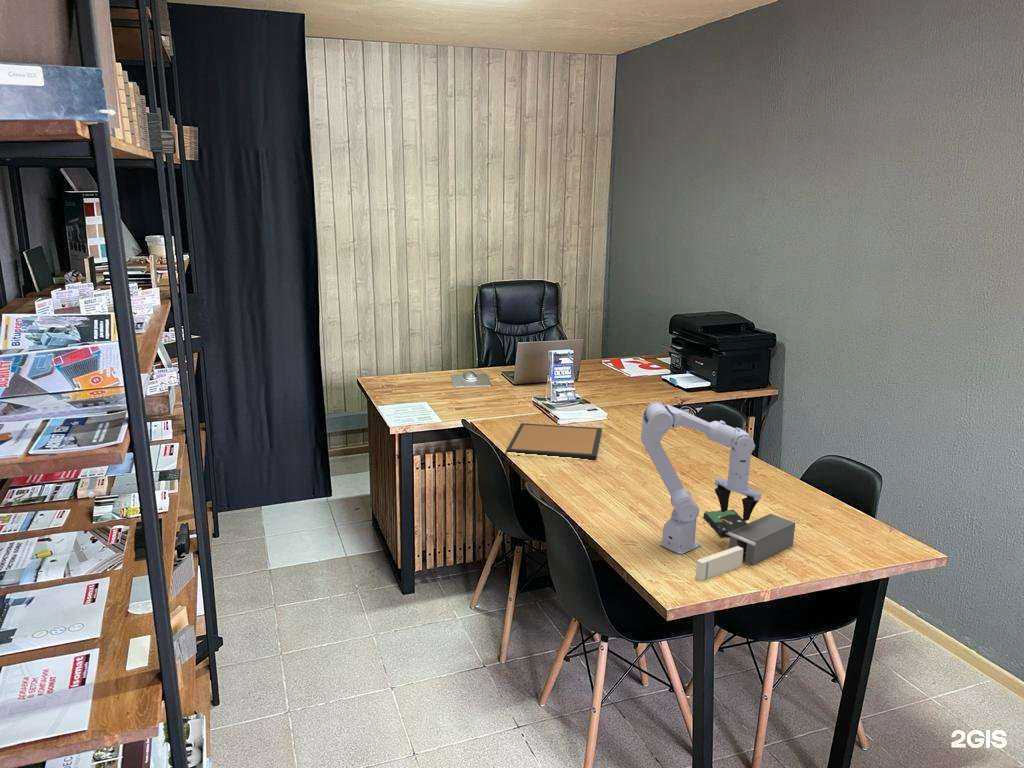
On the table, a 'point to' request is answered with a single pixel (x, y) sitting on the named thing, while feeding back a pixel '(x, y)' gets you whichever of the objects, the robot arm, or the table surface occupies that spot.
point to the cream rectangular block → (719, 563)
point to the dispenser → (763, 537)
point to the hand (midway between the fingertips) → (735, 515)
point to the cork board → (556, 441)
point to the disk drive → (724, 521)
